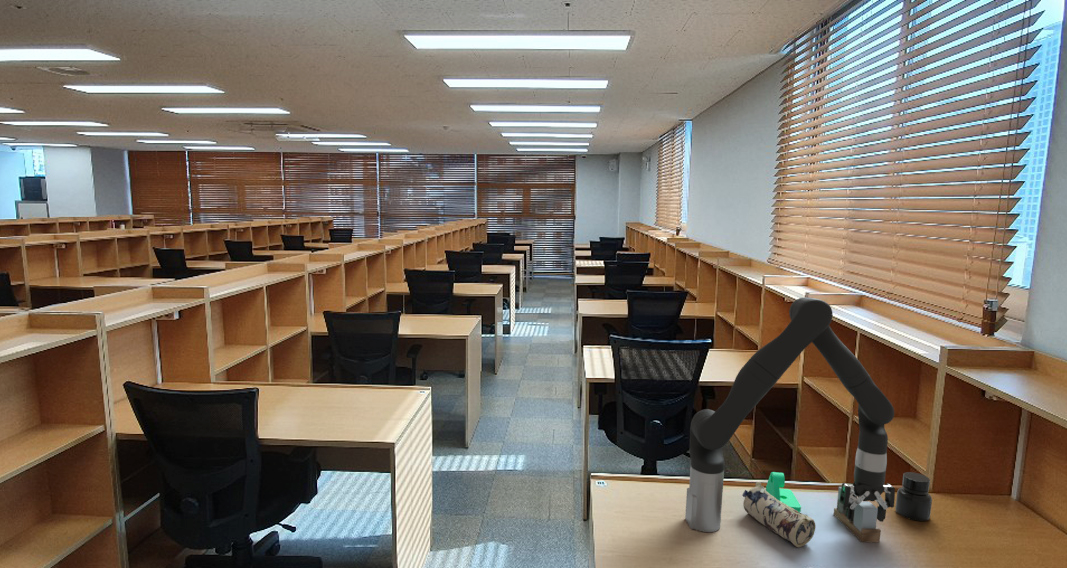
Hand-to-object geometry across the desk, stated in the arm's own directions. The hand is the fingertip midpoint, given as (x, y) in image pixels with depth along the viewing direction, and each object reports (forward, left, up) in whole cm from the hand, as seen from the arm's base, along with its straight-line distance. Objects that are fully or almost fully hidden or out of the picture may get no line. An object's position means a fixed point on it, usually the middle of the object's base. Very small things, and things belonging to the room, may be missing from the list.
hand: (864, 520), depth 169 cm
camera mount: (-16, +17, -5) cm, 24 cm away
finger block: (0, 0, -3) cm, 3 cm away
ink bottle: (+22, +12, -5) cm, 26 cm away
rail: (0, +4, -4) cm, 6 cm away
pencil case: (-24, +2, -5) cm, 24 cm away
